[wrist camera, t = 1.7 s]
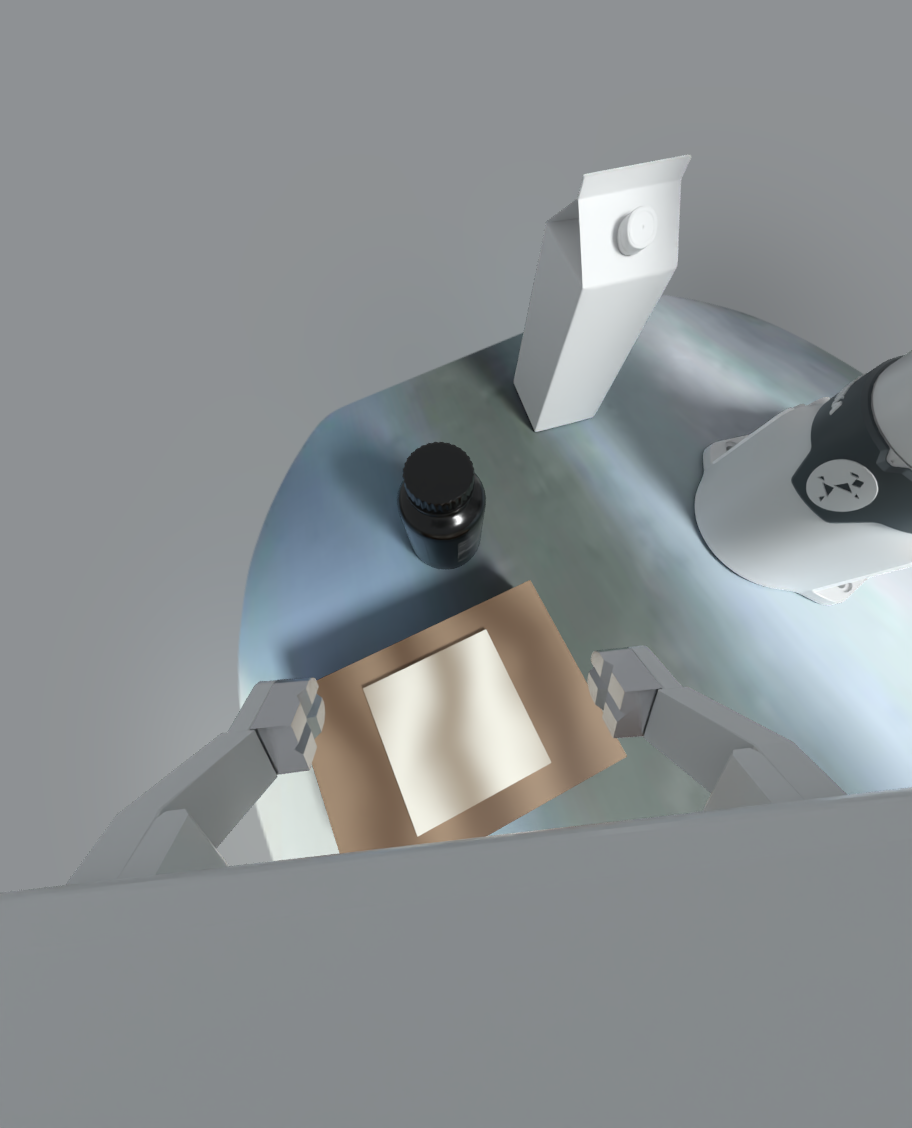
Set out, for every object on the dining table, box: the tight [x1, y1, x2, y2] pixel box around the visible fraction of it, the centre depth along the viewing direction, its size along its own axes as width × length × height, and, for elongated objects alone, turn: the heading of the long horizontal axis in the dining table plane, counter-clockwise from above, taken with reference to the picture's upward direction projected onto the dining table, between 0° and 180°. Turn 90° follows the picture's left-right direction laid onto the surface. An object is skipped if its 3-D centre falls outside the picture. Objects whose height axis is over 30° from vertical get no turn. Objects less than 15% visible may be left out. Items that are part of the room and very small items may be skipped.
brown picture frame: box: [312, 580, 627, 853], centre depth 27 cm, size 20×14×5 cm
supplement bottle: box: [397, 442, 486, 569], centre depth 28 cm, size 7×7×12 cm
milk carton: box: [514, 155, 691, 432], centre depth 30 cm, size 7×7×19 cm
